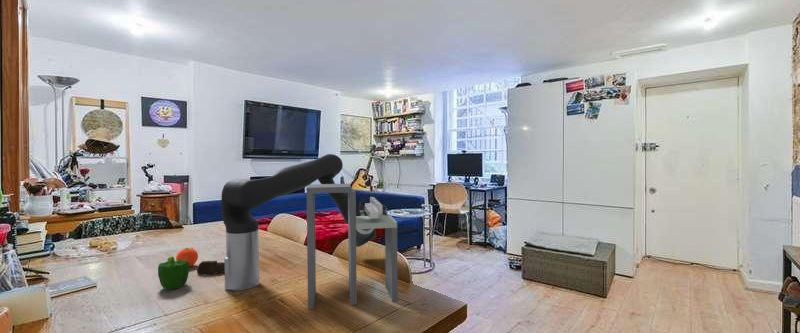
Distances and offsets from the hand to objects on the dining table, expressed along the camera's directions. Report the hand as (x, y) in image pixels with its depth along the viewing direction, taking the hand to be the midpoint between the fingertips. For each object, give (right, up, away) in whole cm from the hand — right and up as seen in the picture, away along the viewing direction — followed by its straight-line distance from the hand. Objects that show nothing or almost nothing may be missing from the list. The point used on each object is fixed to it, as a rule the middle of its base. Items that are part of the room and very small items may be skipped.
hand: (370, 201), depth 108 cm
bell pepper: (-61, -27, -1) cm, 66 cm away
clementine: (-69, -26, +20) cm, 77 cm away
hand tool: (-51, -26, +12) cm, 59 cm away
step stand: (-4, -26, -9) cm, 28 cm away
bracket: (+1, -3, -4) cm, 5 cm away
